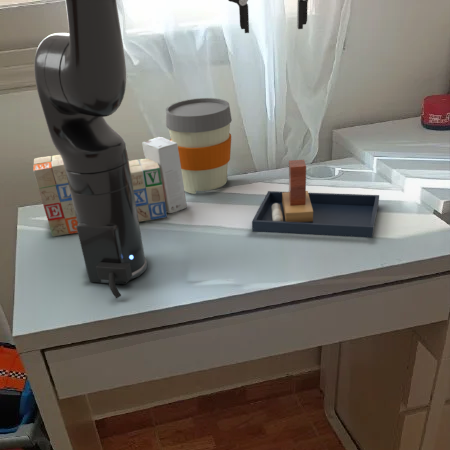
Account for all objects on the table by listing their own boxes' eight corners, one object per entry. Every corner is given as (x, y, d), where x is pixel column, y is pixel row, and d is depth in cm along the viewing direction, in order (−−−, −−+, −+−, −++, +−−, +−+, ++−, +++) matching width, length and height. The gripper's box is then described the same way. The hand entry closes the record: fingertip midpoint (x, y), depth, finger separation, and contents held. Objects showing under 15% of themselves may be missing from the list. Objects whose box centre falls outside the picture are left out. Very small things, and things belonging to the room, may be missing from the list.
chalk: (278, 229, 105) (285, 221, 104) (270, 222, 104) (278, 215, 103) (276, 213, 110) (282, 205, 109) (268, 206, 109) (275, 199, 108)
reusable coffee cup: (241, 175, 126) (237, 97, 117) (227, 199, 117) (221, 116, 108) (184, 173, 129) (176, 97, 120) (166, 197, 120) (155, 116, 111)
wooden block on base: (312, 227, 104) (314, 172, 98) (285, 228, 104) (285, 173, 98) (307, 205, 110) (308, 153, 104) (282, 207, 111) (281, 155, 105)
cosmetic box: (188, 207, 115) (180, 142, 107) (168, 215, 114) (158, 148, 106) (170, 198, 119) (162, 134, 111) (151, 205, 117) (141, 141, 110)
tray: (371, 242, 100) (373, 227, 98) (252, 235, 105) (251, 221, 103) (378, 209, 109) (379, 195, 108) (268, 204, 114) (268, 190, 112)
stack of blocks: (163, 205, 117) (153, 139, 109) (167, 218, 112) (157, 150, 104) (51, 223, 114) (33, 157, 106) (51, 237, 110) (32, 169, 102)
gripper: (221, -96, 84) (229, 38, 94) (324, -105, 83) (320, 31, 94) (222, -97, 90) (229, 29, 100) (318, -106, 89) (315, 22, 100)
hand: (273, 30), depth 97 cm, fingers open, 8 cm apart
